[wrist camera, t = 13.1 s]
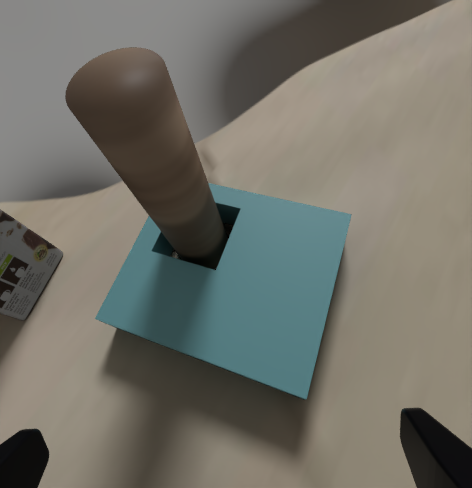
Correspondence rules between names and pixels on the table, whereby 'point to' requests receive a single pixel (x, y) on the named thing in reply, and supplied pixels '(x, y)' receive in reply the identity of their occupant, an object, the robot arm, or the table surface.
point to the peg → (150, 147)
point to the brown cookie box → (23, 266)
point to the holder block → (239, 290)
